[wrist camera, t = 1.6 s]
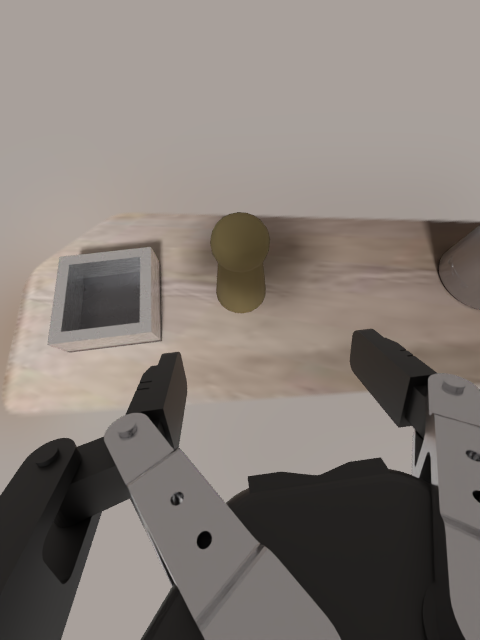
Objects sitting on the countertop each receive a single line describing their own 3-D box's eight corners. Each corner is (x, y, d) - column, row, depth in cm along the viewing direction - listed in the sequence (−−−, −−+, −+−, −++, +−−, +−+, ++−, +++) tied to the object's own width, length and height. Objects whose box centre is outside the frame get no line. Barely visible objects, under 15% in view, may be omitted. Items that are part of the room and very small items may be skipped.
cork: (268, 311, 30) (281, 258, 20) (217, 314, 30) (203, 263, 20) (263, 267, 32) (272, 198, 22) (215, 270, 32) (202, 202, 22)
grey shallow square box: (159, 263, 33) (150, 246, 29) (161, 340, 29) (151, 332, 26) (77, 272, 32) (59, 257, 29) (69, 352, 29) (47, 344, 25)
